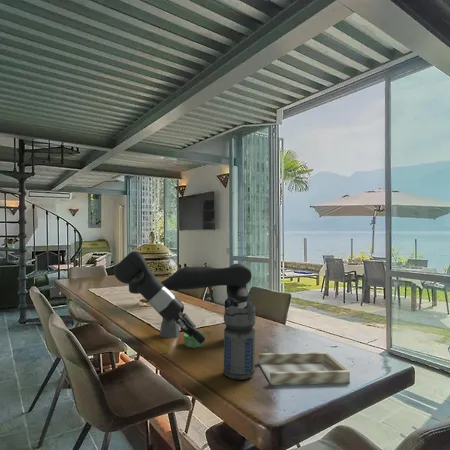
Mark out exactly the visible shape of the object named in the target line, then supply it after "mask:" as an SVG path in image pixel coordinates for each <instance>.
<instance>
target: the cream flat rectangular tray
mask: <svg viewBox="0 0 450 450" xmlns="http://www.w3.org/2000/svg"><path fill="white" fill-rule="evenodd" d="M258 365H259V366H260V369H261V370H262V372H263V373H264V375H265V378H266V380H267V381H268V382H269V384H270V386H289V385H291V386H294V385H295V386H296V385H298V386H299V385H326V384H329V385H330V384H351V375H350V373H351V372H350V371H349V370H348V369H347V367H345V366H344V365H342V364H341V363H340V362H339V361H337V359H336V358H334V357H333V356H332V355H330V354H329V353H328V352H324V351H323V352H317V351H316V352H275V353H274V352H268V353H266V352H265V353H258Z"/></svg>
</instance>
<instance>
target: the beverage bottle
mask: <svg viewBox="0 0 450 450" xmlns="http://www.w3.org/2000/svg"><path fill="white" fill-rule="evenodd" d="M238 303H242V302H240V301H236V299H234V298H231V297H230V298H228V297H227V298H226V299H225V301H224V314H223V322H224V325H225V328H224V330H223V374H224V375H225V376H226V378H227V377H228V378H229V379H232V380H237V381H239V380H240V381H241V380H243V381H244V380H246V379H247V380H248V379H251V378H252V377H253V376H254V374H255V371H256V370H255V366H256V363H255V362H256V359H255V358H256V356H255V355H256V329H255V328H253V327H254V326H255V324H256V306H255V305H254V304H253V302H252V300H251V299H249V300H247V305H238Z"/></svg>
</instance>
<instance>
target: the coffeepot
mask: <svg viewBox="0 0 450 450" xmlns="http://www.w3.org/2000/svg"><path fill="white" fill-rule="evenodd" d="M184 310H185V306H184V307H183V309H182V310H181V312H182V313H183V314H184ZM176 323H177V322H176V321H175V320H174V319H172V320H171V321H169V322H167V321H166V320H165V319H164V318H163V317H162V321H161V325H160V329H159V336H161V337H160V338H163V337H167V338H166V339H172V338H171V337H175V338H178V337H179V336H180V335H181V334H180V333H181V331H180V327H178V326H177V325H176ZM177 336H178V337H177Z"/></svg>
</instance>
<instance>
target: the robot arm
mask: <svg viewBox="0 0 450 450" xmlns="http://www.w3.org/2000/svg"><path fill="white" fill-rule="evenodd" d="M113 274H114V276H115V278H116V279H117V281H119V282H121V283H123V284H126V285H128V291H129V293H130V294H135V295H138V294H139V295H141V296H142V297H143V298H144V299H145V300H146V301H147V302H148V303H149V305H150V306H151V307H152V308H153V309H154V310H155V311H156V312H157V313H158V314H159V315H160V316H161V318H162V319H163V318H164V319H165V320H166V321H167V322H169V321H171V320H172V319H174V320H175V321H176V322H177V323H176V325H177V326H178V327H179V330H181V331H182V332H183V333H184V334H185V333H186V334H187V335H189V336H190V337H191V336H193V337H194V338H195V339H196V340H197V341H198V342H199V343H200V344H202V343H203V342H204V343H205V340H206V336H205V337H204V336H203V335H202V334H201V333H200V332H201V331H199V330H198V328H197V325H196V324H195V323H194V322H193V321H192V319H191V318H190V317H189V316H188V314H187V313H184V312H183V313H182V312H181V310H182V309H183V307H184V308H185V306H184V303H183V302H182V301H181V300H180V299H179V298H178V296H176V295H175V294H174V293H173V292H172V291H175V290H176V291H177V290H178V291H179V290H182V291H183V290H195V289H205V288H213V287H219V286H226V295H227V299H228V298H230V297H231V298H234V299H236V301H240V302H242V303H238V305H247V300H250V299H249V293H248V289H247V285H248V284H249V282H250V281H251V280H252V274H253V273H252V272H251V270H250V268H249V266H248V267H247V265H245V264H241V263H234V264H233V263H232V264H231V265H229V266H228V267H220V268H218V267H209V266H187V267H186V266H185V267H181V268H180V269H178V270H176V271H175V272H174V273H172V274H171V275H170V276H169V277H167V278H165V279H164V280H162V281H160V280H159V279H158V278H157V277H156V276H155V274H154V273H153V271H152V270H151V267H150V265H148V263H147V260H146V258H145V257H144V256H143V254H142V253H140V252H139V251H137V250H136V251H131V252H129V253H128V254H127V255H126V256H125V257H124V258H122V259H121V260H120V261H119V262H118V264H116V265H115V266H114V268H113Z"/></svg>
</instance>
